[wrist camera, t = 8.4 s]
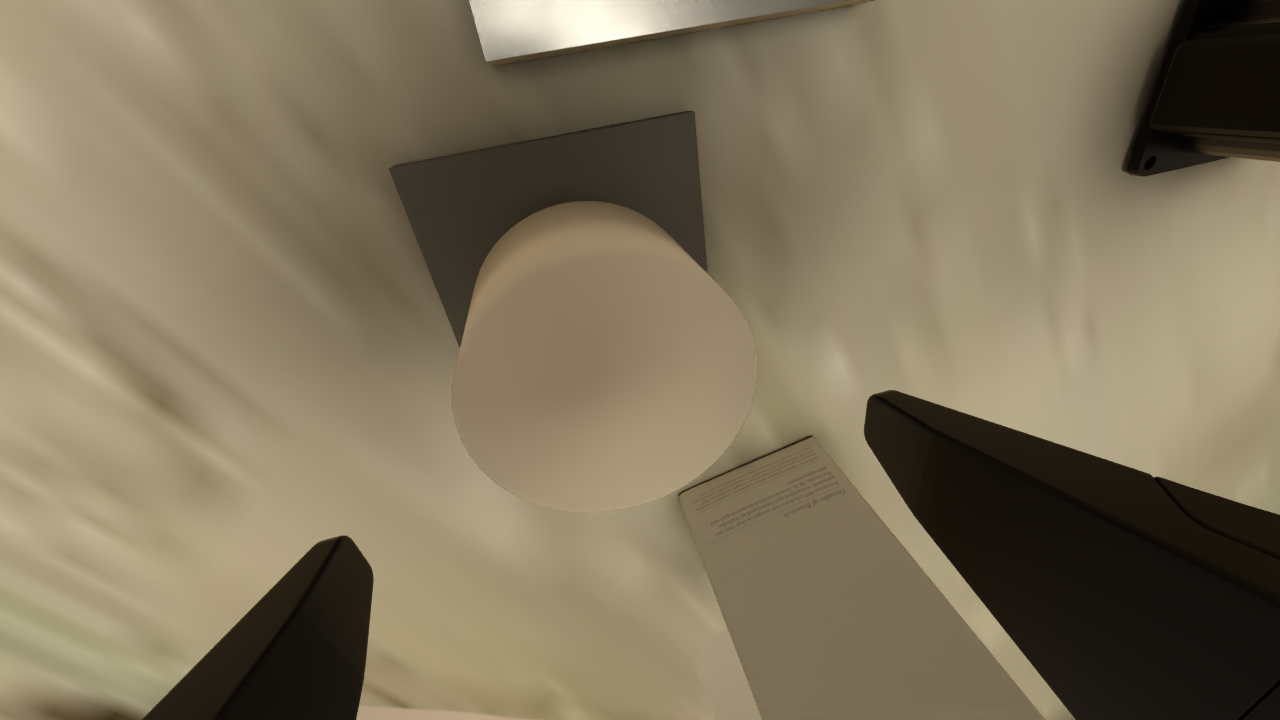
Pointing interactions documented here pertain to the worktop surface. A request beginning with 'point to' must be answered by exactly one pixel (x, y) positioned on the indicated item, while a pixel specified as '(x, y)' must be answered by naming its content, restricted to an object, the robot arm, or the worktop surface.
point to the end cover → (599, 362)
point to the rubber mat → (548, 193)
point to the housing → (613, 22)
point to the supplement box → (836, 602)
